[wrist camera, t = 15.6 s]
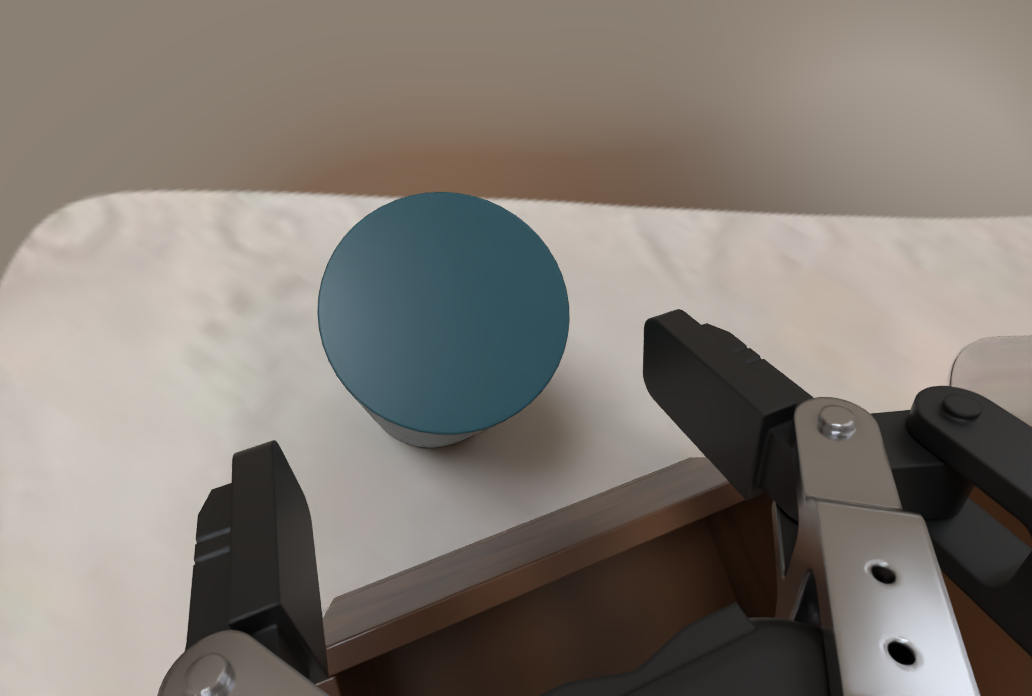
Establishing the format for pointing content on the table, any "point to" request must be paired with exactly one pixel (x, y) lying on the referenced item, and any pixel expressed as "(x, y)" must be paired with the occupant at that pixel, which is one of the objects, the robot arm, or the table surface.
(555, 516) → the bin
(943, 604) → the robot arm
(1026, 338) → the beer glass
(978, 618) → the bin lid
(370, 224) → the can
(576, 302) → the table surface
